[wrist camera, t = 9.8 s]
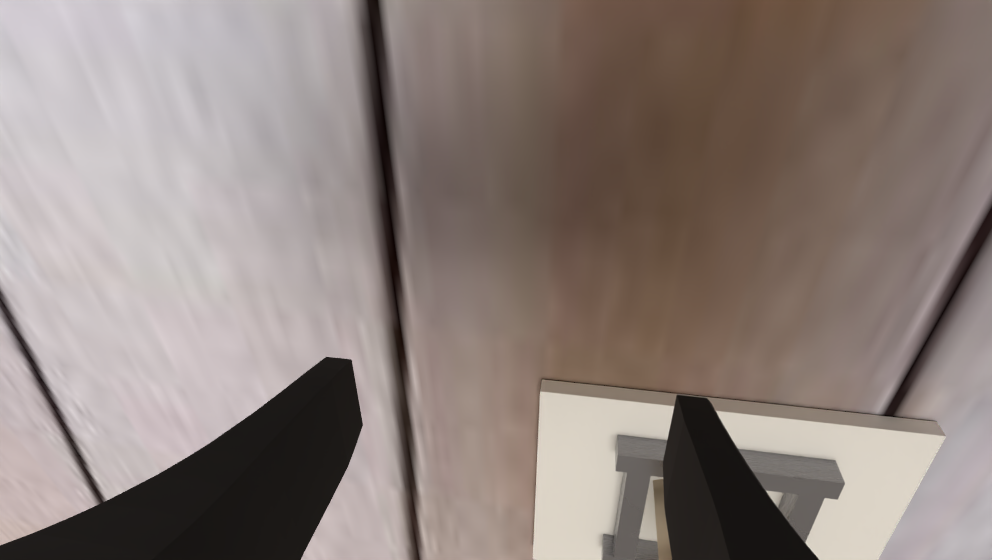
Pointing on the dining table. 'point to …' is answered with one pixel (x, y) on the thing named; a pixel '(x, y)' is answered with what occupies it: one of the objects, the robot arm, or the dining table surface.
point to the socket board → (761, 441)
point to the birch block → (661, 521)
